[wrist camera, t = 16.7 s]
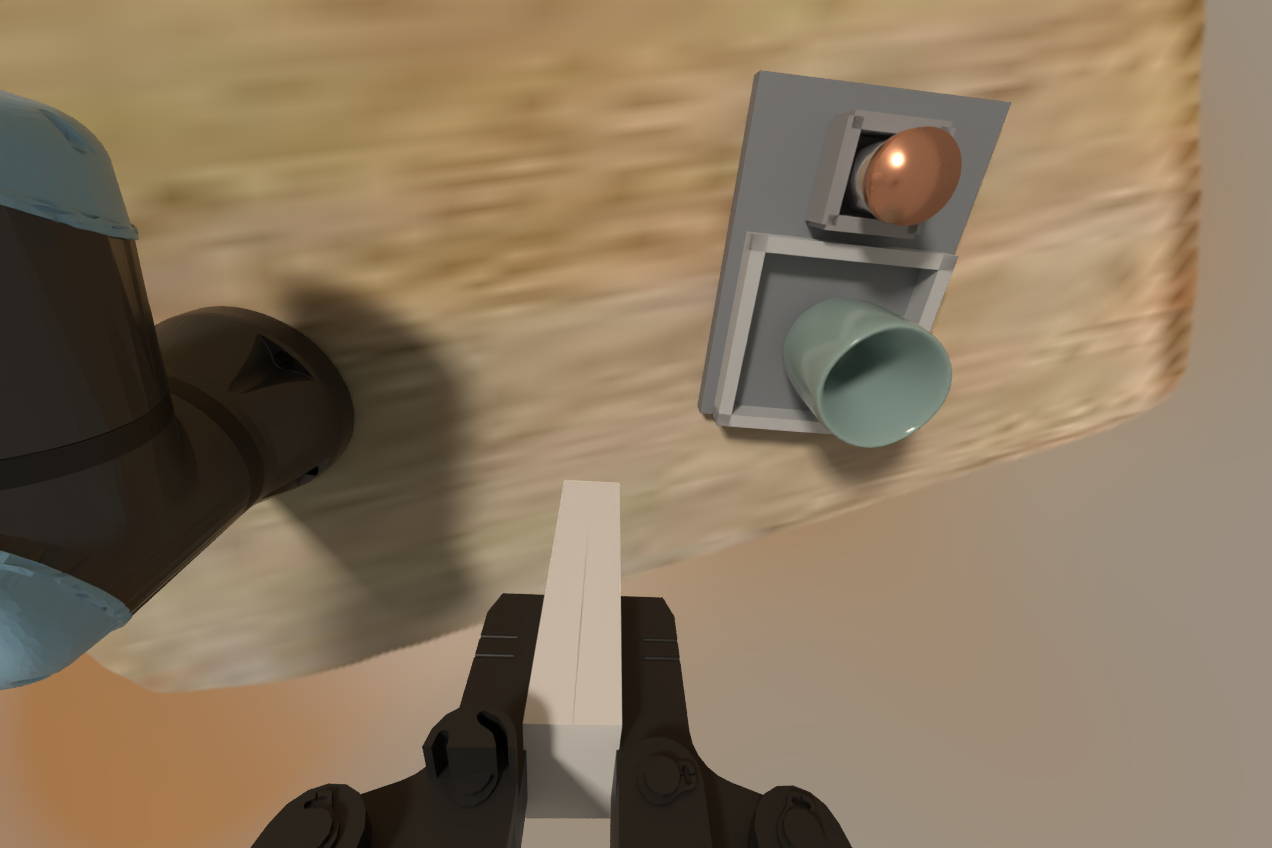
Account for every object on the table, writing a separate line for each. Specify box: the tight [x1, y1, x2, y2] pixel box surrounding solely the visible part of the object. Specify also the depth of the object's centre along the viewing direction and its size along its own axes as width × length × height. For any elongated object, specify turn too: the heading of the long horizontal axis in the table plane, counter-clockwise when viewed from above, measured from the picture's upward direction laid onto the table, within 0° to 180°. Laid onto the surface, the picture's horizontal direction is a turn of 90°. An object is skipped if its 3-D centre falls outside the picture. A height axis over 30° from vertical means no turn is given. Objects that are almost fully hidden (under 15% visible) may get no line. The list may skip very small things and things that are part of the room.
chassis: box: [698, 71, 1011, 434], centre depth 34 cm, size 16×23×5 cm
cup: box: [782, 297, 952, 448], centre depth 33 cm, size 8×8×10 cm
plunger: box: [842, 126, 962, 226], centre depth 29 cm, size 5×5×6 cm
